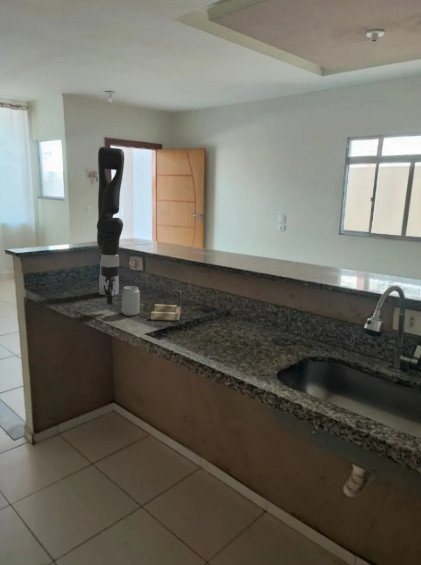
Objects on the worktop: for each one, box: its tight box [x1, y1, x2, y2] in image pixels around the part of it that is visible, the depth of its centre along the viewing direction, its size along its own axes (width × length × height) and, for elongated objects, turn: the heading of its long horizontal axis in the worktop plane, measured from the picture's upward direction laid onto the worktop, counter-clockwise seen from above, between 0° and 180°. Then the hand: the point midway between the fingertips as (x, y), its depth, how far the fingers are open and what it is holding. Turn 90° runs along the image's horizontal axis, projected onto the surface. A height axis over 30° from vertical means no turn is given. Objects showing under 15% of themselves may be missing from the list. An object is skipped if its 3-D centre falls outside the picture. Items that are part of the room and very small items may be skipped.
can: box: [121, 285, 141, 317], centre depth 175 cm, size 8×8×12 cm
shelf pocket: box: [150, 289, 182, 322], centre depth 176 cm, size 12×13×10 cm
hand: (110, 303), depth 175 cm, fingers closed
